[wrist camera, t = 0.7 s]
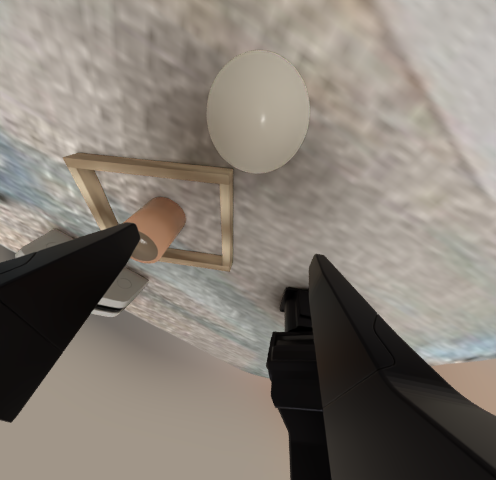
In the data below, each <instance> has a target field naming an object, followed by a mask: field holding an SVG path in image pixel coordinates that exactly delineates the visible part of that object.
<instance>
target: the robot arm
mask: <svg viewBox="0 0 496 480" xmlns="http://www.w3.org/2000/svg"><path fill="white" fill-rule="evenodd" d="M139 241H140V234H139V231H138V228H137V225H136V224H135V223H130V222H125V223H122V224H119V225H116V226H113V227H110V228H107V229H104V230H101V231H98V232H95V233H92V234H88V235H85V236H82V237H79V238H76V239H73V240H70V241H67V242H64V243H61V244H58V245H55V246H52V247H49V248H46V249H42V250H39V251H38V252H33V253H30V254H27V255H24V256H21V257H18V258H15V259H12V260H8V261H5V262H1V263H0V420H1V421H5V422H10V423H11V422H12V421H13V420H14V419H15V418H16V416H17V415H18V414H19V413H20V411H21V410H22V408H23V407H24V405H25V404H26V403H27V402H28V400H29V399H30V397H31V396H32V395H33V393H34V392H35V390H36V389H37V388H38V386H39V385H40V383H41V382H42V381H43V379H44V378H45V377H46V375H47V374H48V372H49V371H50V370H51V368H52V367H53V365H54V364H55V362H56V361H57V360H58V358H59V357H60V356H61V354H62V353H63V351H64V350H65V349H66V347H67V346H68V344H69V343H70V342H71V340H72V339H73V338H74V336H75V334H76V333H77V332H78V331H79V329H80V328H81V326H82V325H83V324H84V322H85V321H86V320H87V318H88V317H89V315H90V314H91V313H92V311H93V310H94V308H95V307H96V306H97V304H98V303H99V302H100V300H101V299H102V297H103V296H104V295H105V293H106V292H107V290H108V289H109V288H110V286H111V285H112V284H113V282H114V281H115V279H116V278H117V277H118V275H119V274H120V272H121V271H122V270H123V268H124V267H125V265H126V264H127V262H128V260H129V259H130V257H131V255H132V253H133V252H134V250H135V248H136V246H137V245H138V243H139ZM280 311H281V312H285V332H273V333H272V337H271V341H270V347H269V352H268V358H267V363H266V367H267V369H268V372H269V377H270V380H271V382H272V385H271V397H272V400H273V403H274V406H275V407H276V408H278V410H279V412H280V414H281V417H282V419H283V421H284V423H285V425H286V428H287V430H288V433H289V451H290V478H291V480H496V416H495V415H493V414H491V413H489V412H487V411H485V410H484V409H482V408H480V407H479V406H477V405H475V404H474V403H472V402H471V401H469V400H468V399H467V398H465V397H464V396H462V395H461V394H460V393H459V392H457V391H456V390H455V389H454V388H453V387H451V385H449V384H448V383H447V382H446V381H445V380H444V379H443V378H442V377H441V376H440V375H439V374H438V373H437V372H436V371H435V370H434V369H433V368H432V367H431V366H430V365H428V364H427V363H426V362H425V361H424V360H423V359H422V358H421V357H420V356H419V355H418V354H417V353H416V352H415V351H414V350H413V349H412V348H411V347H410V346H409V345H408V344H407V343H406V342H405V341H404V340H403V339H402V338H400V337H399V336H398V335H397V334H396V332H395V331H394V330H393V329H392V328H391V327H390V326H389V325H388V324H387V323H386V322H385V321H384V320H383V319H382V318H381V317H380V315H379V314H377V312H376V311H375V310H374V309H373V308H372V307H371V306H370V305H369V304H368V302H367V301H366V300H365V299H364V298H363V297H362V296H361V295H360V294H359V293H358V292H357V291H356V289H355V288H354V287H353V286H352V285H351V284H350V283H349V282H348V281H347V280H346V279H345V277H344V276H343V275H342V274H341V273H340V272H339V271H338V270H337V269H336V268H335V267H334V265H333V264H332V263H331V262H330V261H329V260H328V259H327V258H326V257H325V256H324V255H320V254H315V255H314V257H313V259H312V261H311V264H310V266H309V291H308V290H302V289H295V288H286V289H285V292H284V295H283V299H282V302H281V306H280Z"/></svg>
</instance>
